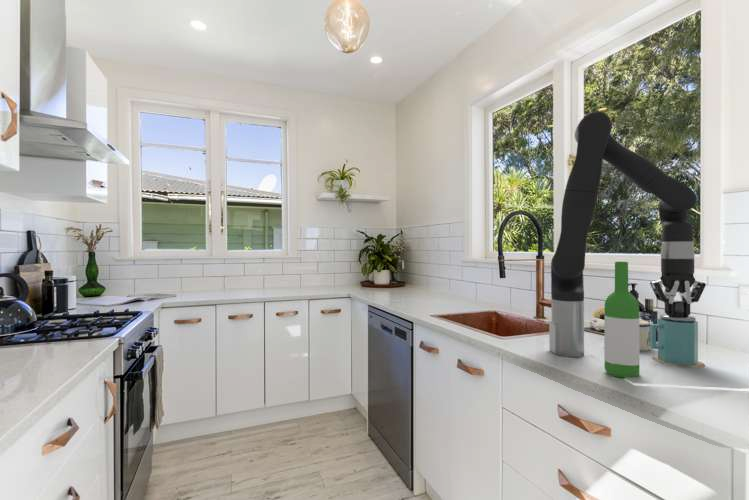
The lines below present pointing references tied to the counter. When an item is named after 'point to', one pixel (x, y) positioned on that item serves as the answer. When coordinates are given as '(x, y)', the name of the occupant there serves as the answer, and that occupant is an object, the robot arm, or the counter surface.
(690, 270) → the robot arm
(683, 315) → the knob on metal rod
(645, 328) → the teacup with lid
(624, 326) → the wine bottle
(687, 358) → the press pot
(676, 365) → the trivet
